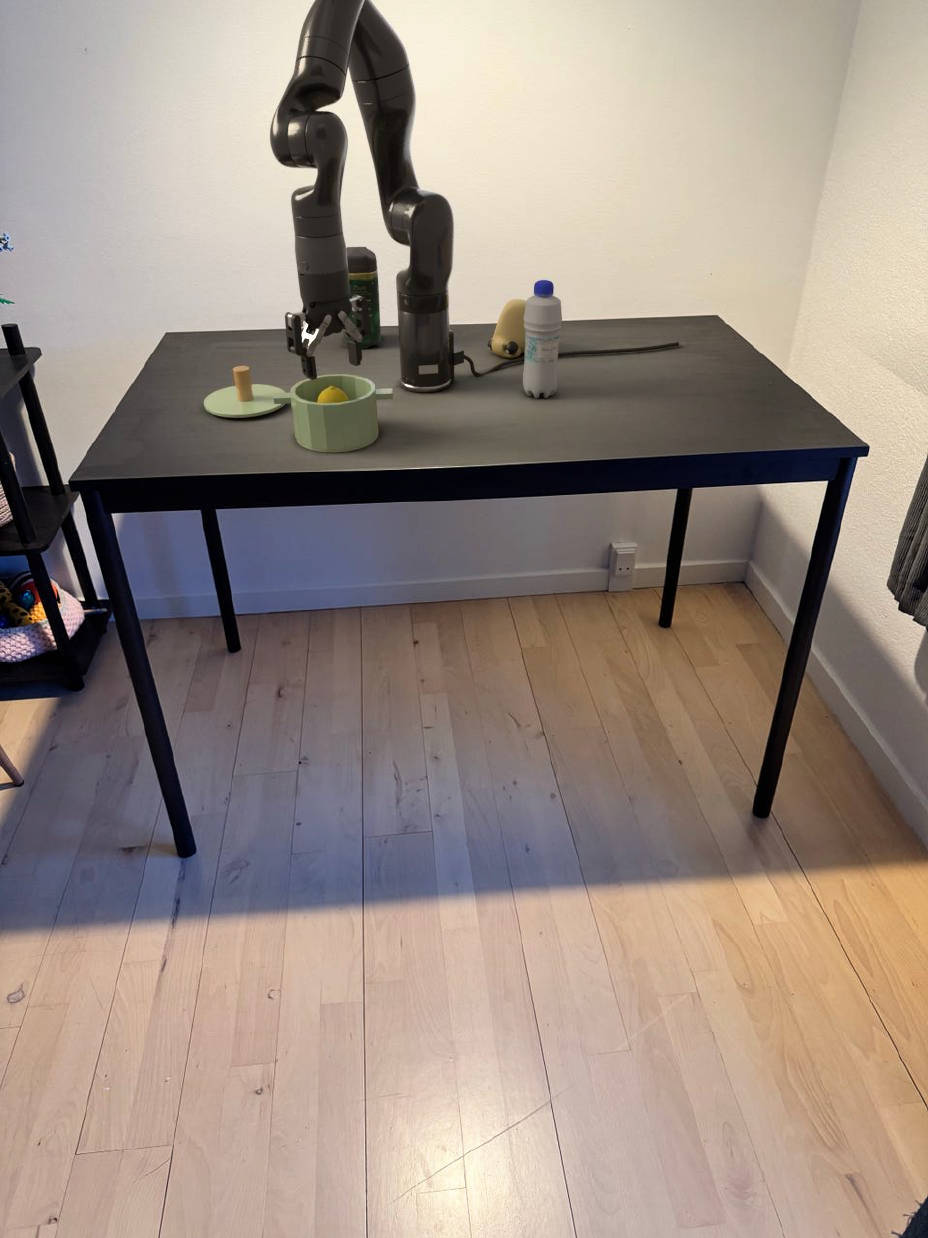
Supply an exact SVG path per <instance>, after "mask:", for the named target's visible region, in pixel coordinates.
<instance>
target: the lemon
mask: <svg viewBox="0 0 928 1238" xmlns="http://www.w3.org/2000/svg"><path fill="white" fill-rule="evenodd" d="M346 401H349V399H348V397H347V395H346V394H345V393H344V392H343V391H342V390H341V389H338V388H335V387H334V386H330V387H329V388H327V389H325V390H324V391H322V392H321V394H320V395H319V397H318V401H317V403H340V402H346Z"/></svg>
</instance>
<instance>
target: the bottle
mask: <svg viewBox="0 0 928 1238" xmlns="http://www.w3.org/2000/svg"><path fill="white" fill-rule="evenodd" d="M554 288H555V286H554V283H553V281H551V280H548V279H539V280H537V281H535V283H534V285H533V295H531V296H530V297H528V298H527V299H526V308H525V314H524V328H525V330H526V332H525V353H524V357H525V361H523V362H524V363H523V370H522V371H523V372H522V373H523V374H522V387H523V390H524V393H525V394H526V396H528V397H531V396H532V395H533V397H534V398H535V399H539V397H540V394H543V398H544V399H546V398H549V396H553V395H554V394H555V393H556V391H557V388H558V381H559V379H558V378H559V375H558V369H559V367H558V363H559V362H558V359H559V356H558V353H559V343H560V330H561V328H562V322H563V314H562V312H563V311H562V301H561V299H560V298H559V297H557V296H555V295H554V290H555V289H554Z"/></svg>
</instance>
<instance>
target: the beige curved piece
mask: <svg viewBox="0 0 928 1238" xmlns="http://www.w3.org/2000/svg"><path fill="white" fill-rule="evenodd" d="M526 301H527V299H523V298H512V299H510V300H508V301H507V302H506V303H505V304H504V306H503V308H502V310H501V313H500V315H499V317H498V320H497V323H496V326H495V329H494V333H493V337H492V338H490V339H489V340H488V342H487V348H488V350H490V351H491V352H492V353H493V354H495V355H496V356H499V357H502V358H505V359H516V358H518V357H519V356H520V355H521V354H525V332H526V330H525V328H524V314H525V308H526Z"/></svg>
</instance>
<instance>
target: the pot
mask: <svg viewBox="0 0 928 1238" xmlns="http://www.w3.org/2000/svg"><path fill="white" fill-rule="evenodd" d="M330 386H334V387H335V388H338V389H341V390H342V391H343V392H344V393H345V394H346V395H347V397H348V399H349V401H346V402H340V403H317V401H318V397H319V395H320V394H321V392H322V391H324V390H325V389H327V388H329V387H330ZM285 392H286V391H285ZM393 399H394V393H393V388H392V387H389V388H388V387H387V388H376V384H375V382H373V380H370V378H367V377H363V376H361V375H357V374H345V373H334V374H322V375H317V379H314V380H311V379H309V378H305V379H303V380H300V381H298V382H296V383H295V384H294V385H293V386H291V388H290V392H288V391H287V392H286V393H275V394H274V404H285V405H286V404H287V405H288V404H289V405H290V406H291V411H292V412H291V413H292V422H293V429H294V437H295V440H296V442H297V444H299V445H300V447H302V448H305V449H307V450H310V451H314V452H318V453H319V452H320V453H330V454H331V453H334V454H335V453H345V452H352V451H356V450H360V449H363V448H365V447H368V446H369V445H371V444H374V442H375V441H376V440H377V439H378V438H379V432H380V431H379V418H378V404H377V402H378V401H381V400H382V401H383V400H384V401H385V400H393Z"/></svg>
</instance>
